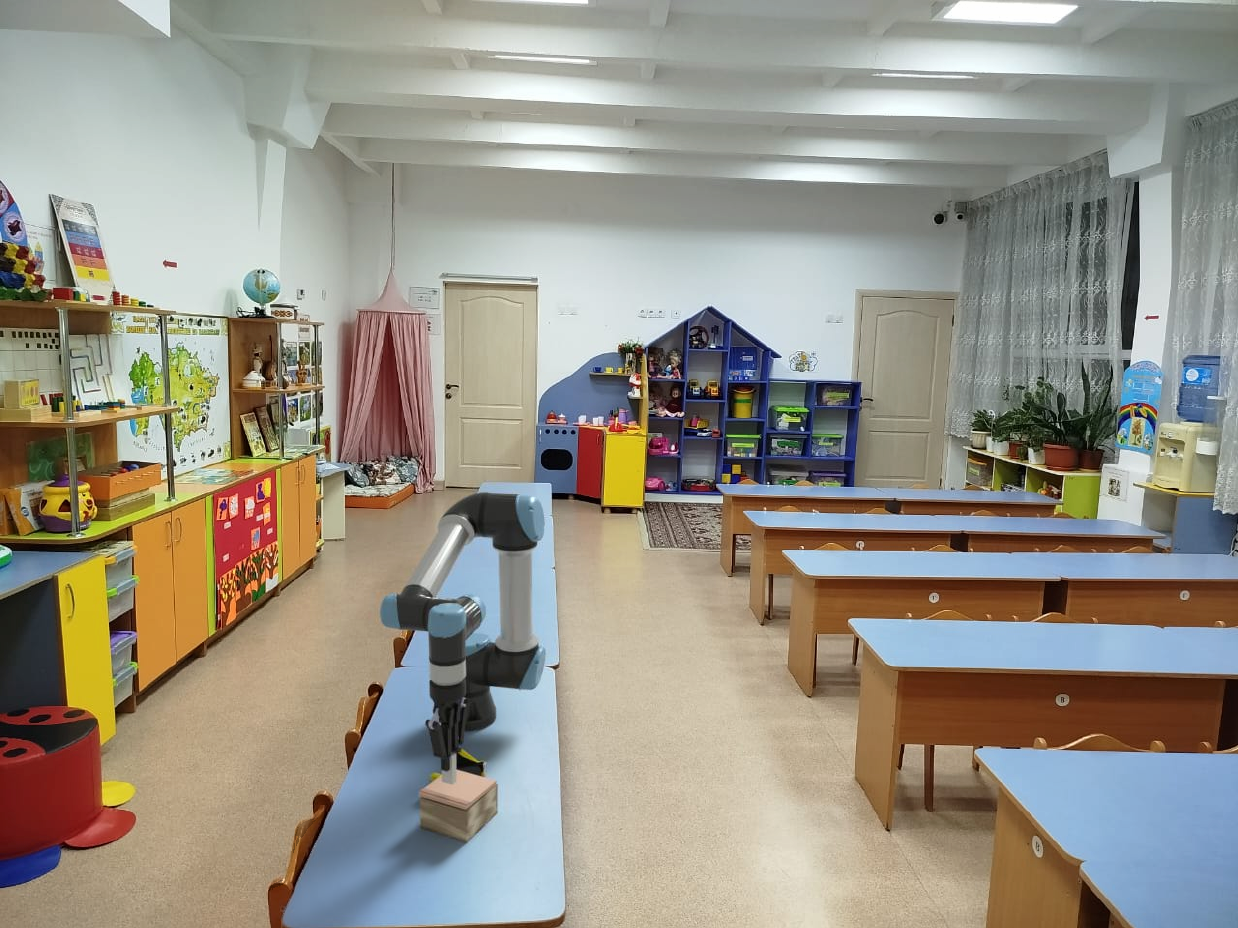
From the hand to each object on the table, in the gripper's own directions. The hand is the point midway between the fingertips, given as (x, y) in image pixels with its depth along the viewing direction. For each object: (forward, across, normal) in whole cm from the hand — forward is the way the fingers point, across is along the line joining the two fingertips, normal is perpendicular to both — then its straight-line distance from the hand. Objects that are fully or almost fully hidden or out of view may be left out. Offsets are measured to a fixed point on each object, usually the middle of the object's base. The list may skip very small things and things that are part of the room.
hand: (449, 781), depth 178 cm
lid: (+4, -3, 0) cm, 5 cm away
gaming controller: (+12, -16, -8) cm, 21 cm away
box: (+11, -4, 0) cm, 12 cm away
